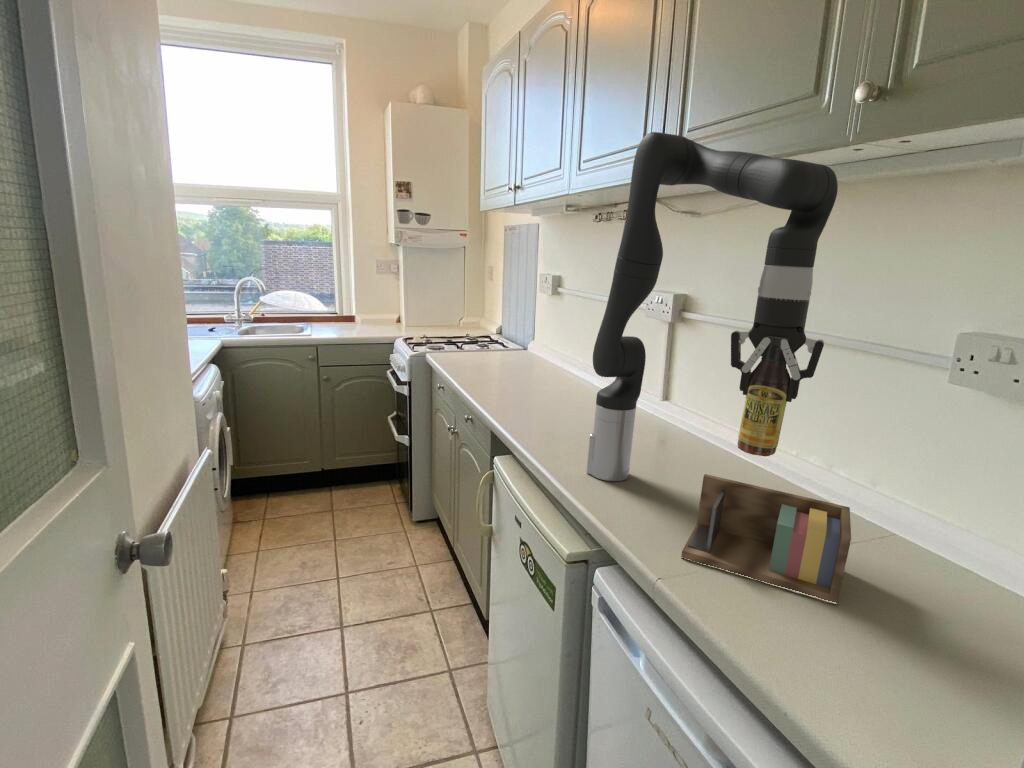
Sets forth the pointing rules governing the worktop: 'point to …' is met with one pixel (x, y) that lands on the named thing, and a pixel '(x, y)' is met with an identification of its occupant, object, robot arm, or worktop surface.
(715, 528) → the bookend
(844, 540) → the shelf
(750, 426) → the sauce bottle
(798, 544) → the book row
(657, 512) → the worktop surface
